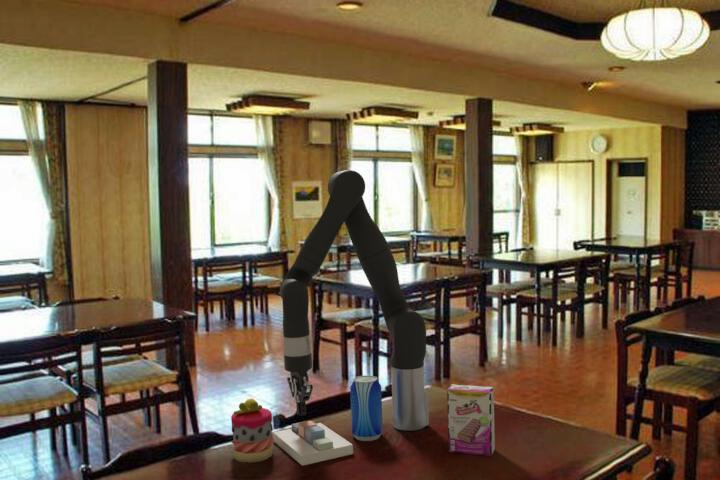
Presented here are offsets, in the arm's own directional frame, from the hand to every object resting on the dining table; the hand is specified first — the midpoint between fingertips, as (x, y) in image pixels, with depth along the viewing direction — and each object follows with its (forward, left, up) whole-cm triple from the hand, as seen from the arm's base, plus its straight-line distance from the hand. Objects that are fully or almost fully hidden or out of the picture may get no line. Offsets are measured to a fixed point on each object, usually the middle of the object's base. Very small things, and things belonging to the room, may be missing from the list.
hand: (301, 414), depth 184 cm
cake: (+15, +4, -7) cm, 17 cm away
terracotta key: (0, +5, -5) cm, 7 cm away
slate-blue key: (0, +10, -5) cm, 11 cm away
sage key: (0, +14, -7) cm, 16 cm away
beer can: (-16, +8, -7) cm, 19 cm away
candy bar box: (-33, +32, -7) cm, 46 cm away
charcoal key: (0, 0, -7) cm, 7 cm away
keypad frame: (0, +7, -7) cm, 10 cm away
